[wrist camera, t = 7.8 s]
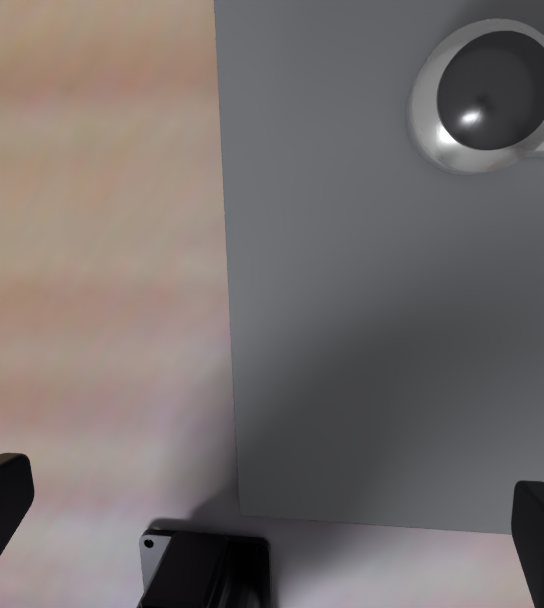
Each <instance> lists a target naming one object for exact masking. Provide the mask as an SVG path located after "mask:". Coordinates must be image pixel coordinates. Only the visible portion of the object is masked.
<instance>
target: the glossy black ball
mask: <svg viewBox="0 0 544 608" xmlns="http://www.w3.org/2000/svg"><path fill="white" fill-rule="evenodd" d="M436 105H437V112H438V115H439V119H440V121H441V123H442V126H443V127H444V129H445V130H446V132H447V133H448V134H449V135H450V136H451V137H452V138H453V139H454V140H455V141H457V142H458V143H460V144H461V145H463V146H465V147H468V148H471V149H474V150H480V151H491V150H498V149H502V148H506V147H509V146H511V145H514V144H516V143H518V142H520V141H522V140H524V139H525V138H527V137H528V136H529V135H531V134H532V133H533V132H534V131H535V130H536V129H537V128H538V127H539V126H540V125H541V123H542V122H543V121H544V47H543V46H542V45H541V44H540V43H539V42H538V41H536V40H535V39H533V38H532V37H530V36H528V35H526V34H523V33H520V32H516V31H495V32H490V33H487V34H484V35H481V36H479V37H477V38H475V39H473V40H472V41H470V42H469V43H467V44H466V45H465V46H464V47H462V48H461V49H460V50H459V51H458V52H457V53H456V55H455V56H454V57H453V58H452V59H451V61H450V62H449V63H448V65H447V66H446V68H445V70H444V72H443V74H442V76H441V78H440V81H439V85H438V89H437V96H436Z"/></svg>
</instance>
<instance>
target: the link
mask: <svg viewBox="0 0 544 608" xmlns="http://www.w3.org/2000/svg"><path fill="white" fill-rule="evenodd" d="M495 31H516V32H520V33H523V34H526V35H528V36H530V37H532V38H533V39H535V40H536V41H538V42H539V43H540V44H541V45H542V46H543V47H544V35H542V34H541V33H540V32H538V31H537V30H536V29H534V28H532V27H531V26H529V25H527V24H524V23H521V22H519V21H515V20H510V19H499V18H498V19H487V20H482V21H477V22H474V23H472V24H469V25H466V26H464V27H462V28H460V29H458V30H457V31H455V32H454V33H452V34H451V35H449V36H448V37H447V38H446V39H444V40H443V41H442V42H441V43H440V44H439V45H438V46H437V47H436V48H435V49H434V51H433V52H432V53H431V55H430V56H429V57H428V59H427V60H426V62H425V63H424V65H423V67H422V68H421V70H420V71H419V73H418V75H417V76H416V78H415V80H414V82H413V83H412V86H411V88H410V90H409V94H408V97H407V101H406V107H405V123H406V129H407V133H408V136H409V139H410V141H411V143H412V145H413V147H414V149H415V150H416V151H417V153H418V154H419V155H420V156H421V157H422V158H423V159H424V160H425V161H426V162H427V163H429V164H430V165H431V166H433V167H435V168H437V169H439V170H441V171H444V172H447V173H451V174H458V175H471V174H477V173H483V172H489V171H495V170H499V169H502V168H506V167H508V166H511V165H513V164H515V163H517V162H519V161H520V160H522V159H524V158H525V157H544V121H543V122H542V123H541V125H540V126H539V127H538V128H537V129H536V130H535V131H534V132H533V133H532V134H531V135H529V136H528V137H527V138H525V139H524V140H522V141H520V142H518V143H516V144H514V145H511V146H509V147H506V148H502V149H498V150H491V151H480V150H474V149H471V148H468V147H465V146H463V145H461V144H460V143H458V142H457V141H455V140H454V139H453V138H452V137H451V136H450V135H449V134H448V133H447V132H446V130H445V129H444V127H443V126H442V123H441V121H440V119H439V115H438V112H437V105H436V96H437V89H438V85H439V81H440V78H441V76H442V74H443V72H444V70H445V68H446V66H447V65H448V63H449V62H450V61H451V59H452V58H453V57H454V56H455V55H456V53H457V52H458V51H459V50H460V49H461V48H462V47H464V46H465V45H466V44H467V43H469V42H470V41H472V40H473V39H475V38H477V37H479V36H481V35H484V34H487V33H490V32H495Z"/></svg>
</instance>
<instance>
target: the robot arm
mask: <svg viewBox="0 0 544 608" xmlns="http://www.w3.org/2000/svg"><path fill="white" fill-rule="evenodd" d="M33 499H34V485H33V478H32V472H31V466H30V460H29V458H28V457H27V456H26V455H25V454H21V453H3V454H0V555H1V554H2V552H3V550H4V549H5V547H6V545H7V544H8V542H9V541H10V539H11V537H12V536H13V534H14V532H15V531H16V529H17V528H18V526H19V524H20V523H21V521H22V519H23V518H24V516H25V514H26V513H27V511H28V510H29V508H30V506H31V504H32V502H33ZM511 532H512V537H513V541H514V544H515V547H516V550H517V553H518V556H519V559H520V563H521V566H522V569H523V572H524V575H525V578H526V581H527V585H528V588H529V591H530V594H531V597H532V600H533V603H534V606H535V608H544V482H542V481H527V480H520V481H518V482H517V483H516V485H515V487H514V496H513V506H512V517H511ZM148 539H149V540H152V541H153V543H152V542H150V541H149V540H148ZM139 545H140V555H141V564H142V574H143V584H144V593H143V595H142V597H141V599H140V601H139V604H138V606H137V608H273V607H272V578H271V548H270V544H269V542H268V541H267V540H265V539H263V538H258V537H245V536H232V535H219V534H206V533H192V532H179V531H166V530H153V529H150V530H146V531H145V532H144V533H143V535H142V536H141V538H140V541H139ZM256 548H261V549H262V550H263V551H258V550H257V549H256Z"/></svg>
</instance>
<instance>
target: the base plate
mask: <svg viewBox="0 0 544 608" xmlns="http://www.w3.org/2000/svg"><path fill="white" fill-rule="evenodd" d="M214 9H215V29H216V49H217V69H218V89H219V110H220V130H221V150H222V170H223V190H224V210H225V231H226V251H227V271H228V291H229V311H230V331H231V352H232V372H233V392H234V412H235V432H236V452H237V473H238V493H239V513H240V516H253V517H267V518H281V519H296V520H310V521H324V522H339V523H353V524H367V525H382V526H396V527H410V528H425V529H439V530H453V531H468V532H482V533H497V534H511V535H512V532H511V517H512V506H513V496H514V487H515V485H516V483H517V482H518V481H520V480H527V481H542V482H544V157H525V158H524V159H522V160H520V161H519V162H517V163H515V164H513V165H511V166H508V167H506V168H502V169H499V170H495V171H489V172H483V173H477V174H471V175H458V174H451V173H447V172H444V171H441V170H439V169H437V168H435V167H433V166H431V165H430V164H429V163H427V162H426V161H425V160H424V159H423V158H422V157H421V156H420V155H419V154H418V153H417V151H416V150H415V149H414V147H413V145H412V143H411V141H410V139H409V136H408V133H407V129H406V123H405V107H406V101H407V97H408V94H409V90H410V88H411V86H412V83H413V82H414V80H415V78H416V76H417V75H418V73H419V71H420V70H421V68H422V67H423V65H424V63H425V62H426V60H427V59H428V57H429V56H430V55H431V53H432V52H433V51H434V49H435V48H436V47H437V46H438V45H439V44H440V43H441V42H442V41H443V40H444V39H446V38H447V37H448V36H449V35H451V34H452V33H454V32H455V31H457V30H458V29H460V28H462V27H464V26H466V25H469V24H472V23H474V22H477V21H482V20H487V19H498V18H499V19H510V20H515V21H519V22H521V23H524V24H527V25H529V26H531V27H532V28H534V29H536V30H537V31H538V32H540V33H541V34H542V35H544V0H214Z"/></svg>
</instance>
